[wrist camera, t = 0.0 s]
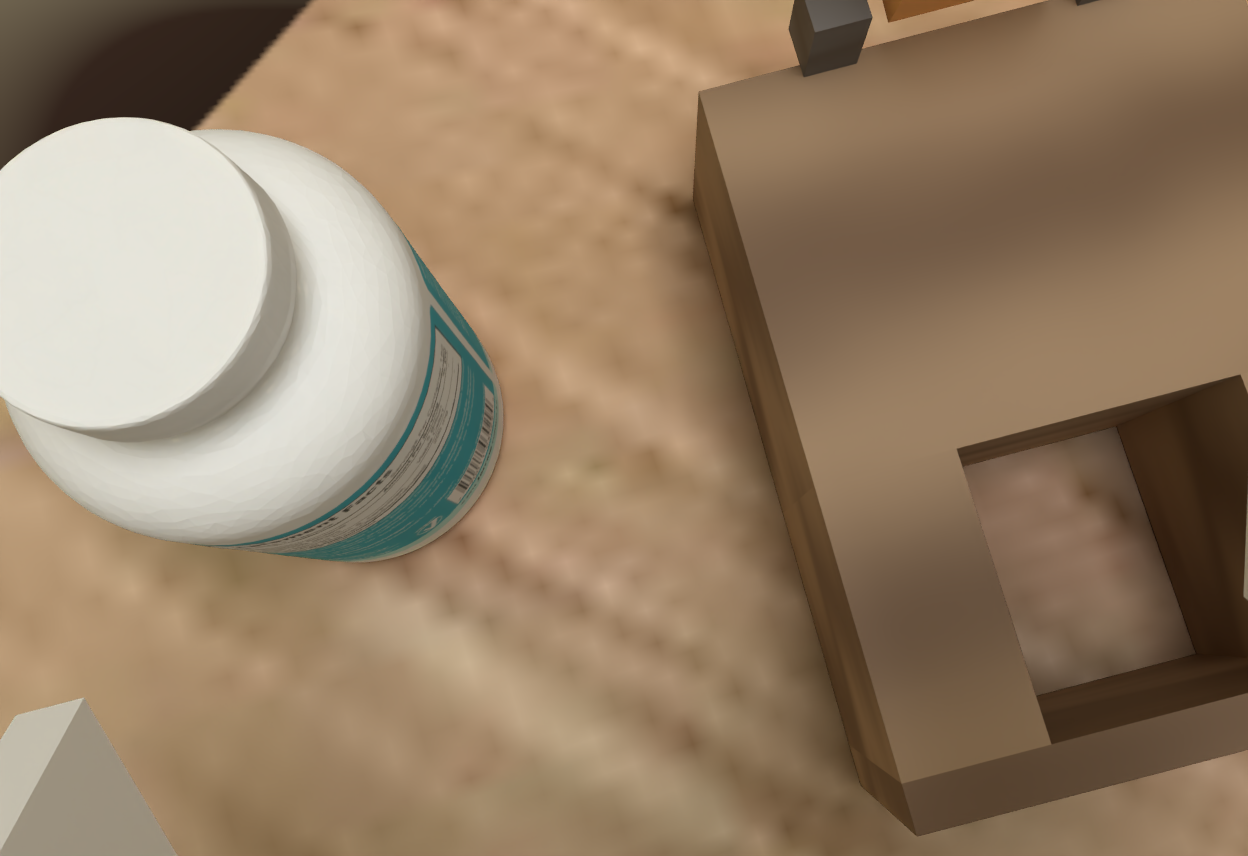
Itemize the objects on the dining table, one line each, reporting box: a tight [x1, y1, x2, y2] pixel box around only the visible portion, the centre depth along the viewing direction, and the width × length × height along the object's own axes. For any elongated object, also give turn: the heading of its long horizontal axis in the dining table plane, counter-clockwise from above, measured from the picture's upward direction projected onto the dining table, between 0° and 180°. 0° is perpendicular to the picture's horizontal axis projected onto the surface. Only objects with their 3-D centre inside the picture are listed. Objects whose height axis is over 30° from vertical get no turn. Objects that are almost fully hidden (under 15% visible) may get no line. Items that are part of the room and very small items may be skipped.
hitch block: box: [693, 0, 1248, 836], centre depth 24 cm, size 17×12×8 cm
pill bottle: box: [0, 117, 504, 562], centre depth 21 cm, size 8×7×14 cm
